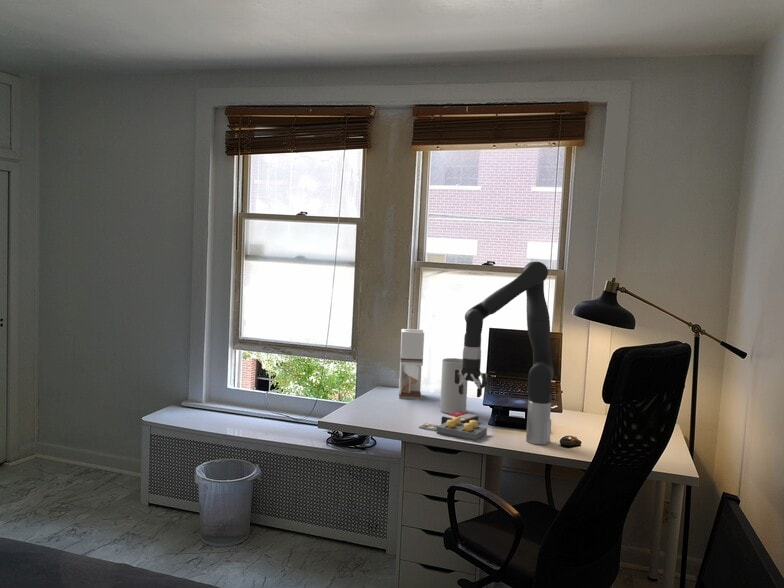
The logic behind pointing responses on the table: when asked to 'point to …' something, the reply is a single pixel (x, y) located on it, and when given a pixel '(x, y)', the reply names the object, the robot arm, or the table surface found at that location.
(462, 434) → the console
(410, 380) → the white square dispenser
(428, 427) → the card
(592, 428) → the table surface
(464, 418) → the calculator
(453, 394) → the cylinder vase
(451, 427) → the button
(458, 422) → the button
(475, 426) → the button
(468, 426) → the button
